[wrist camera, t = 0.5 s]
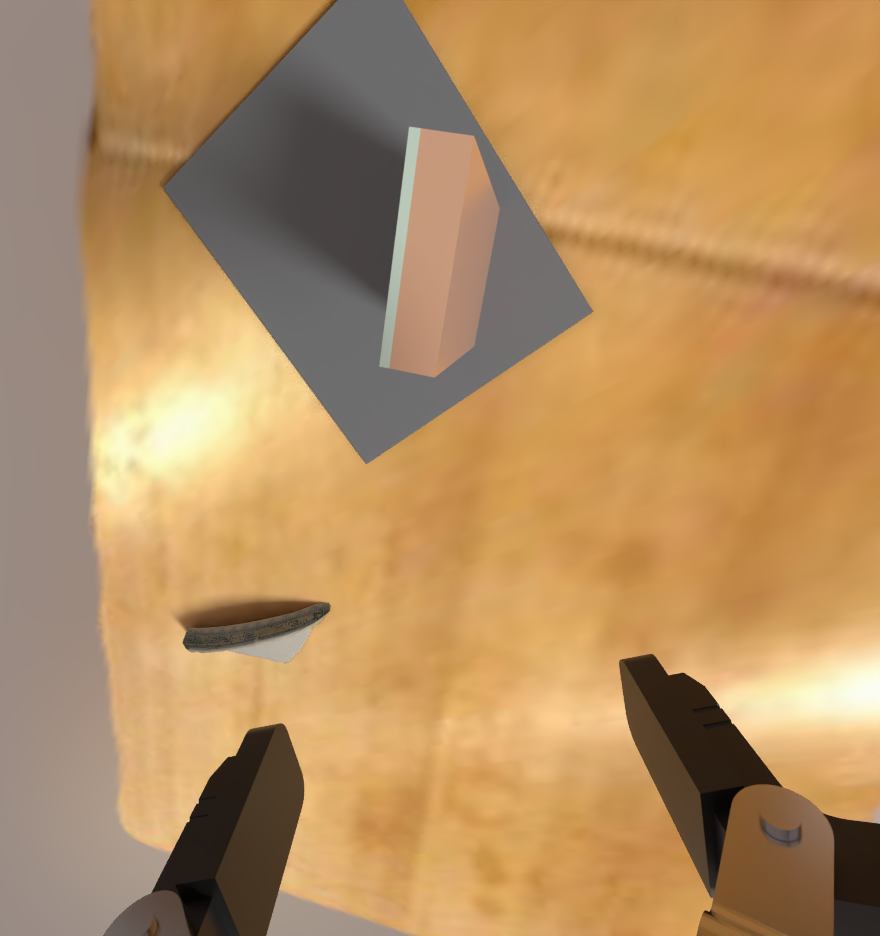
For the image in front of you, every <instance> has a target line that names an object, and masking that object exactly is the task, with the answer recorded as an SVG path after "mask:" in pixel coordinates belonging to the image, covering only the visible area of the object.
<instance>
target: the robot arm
mask: <svg viewBox="0 0 880 936" xmlns="http://www.w3.org/2000/svg"><path fill="white" fill-rule="evenodd" d="M619 667H620V674H621V681H622V688H623V695H624V702H625V709H626V716H627V720H628V724H629V728H630V731H631V734H632V737H633V740H634V742H635V744H636V746H637V749H638V751H639V753H640V755H641V757H642V759H643V761H644V763H645V765H646V767H647V769H648V771H649V773H650V775H651V777H652V779H653V781H654V783H655V785H656V787H657V789H658V791H659V793H660V795H661V797H662V799H663V801H664V803H665V806H666V808H667V810H668V812H669V814H670V816H671V818H672V820H673V822H674V824H675V826H676V828H677V830H678V832H679V834H680V836H681V838H682V840H683V842H684V844H685V846H686V848H687V850H688V852H689V854H690V856H691V858H692V860H693V862H694V865H695V867H696V869H697V871H698V873H699V875H700V877H701V879H702V881H703V883H704V885H705V887H706V889H707V891H708V893H709V895H710V897H711V898H713V897H714V898H713V903H712V907H711V910H710V912H708V911H704V912H703V914H702V917H701V920H700V923H699V927H698V932H697V936H880V824H878V823H870V822H861V821H853V820H846V819H841V818H836V817H833V816H829V815H826V814H824V813H822V812H821V811H820V810H819V809H818V808H817V807H816V806H815V805H814V804H813V803H811V802H810V801H809V800H807V799H806V798H804V797H803V796H801V795H799V794H797V793H795V792H793V791H791V790H789V789H786V788H783V787H782V786H781V784H780V783H779V782H778V781H777V779H776V778H775V777H774V776H773V774H772V773H771V772H770V770H769V769H768V768H767V766H766V765H765V764H764V763H763V761H762V760H761V759H760V757H759V756H758V755H757V754H756V752H755V751H754V750H753V748H752V747H751V746H750V744H749V743H748V742H747V741H746V739H745V738H744V737H743V735H742V734H741V733H740V731H739V730H738V729H737V728H736V726H735V725H734V724H732V723H731V720H730V718H729V717H728V716H727V715H726V713H725V712H724V711H723V709H722V708H721V709H720V707H719V704H718V703H717V702H716V700H715V699H714V698H713V696H712V695H711V694H710V692H709V691H708V690H707V689H706V687H705V686H703V685H702V684H700V683H699V682H697V681H696V680H694V679H693V678H691V677H690V676H688V675H686V674H685V673H679V674H674V675H668V674H667V673H666V671H665V670H664V668H663V667H662V666H661V664H660V663H659V661H658V660H657V658H656V657H655V656H654V655H653V654H648V655H643V656H637V657H632V658H627V659H622V660H620V662H619ZM303 800H304V780H303V775H302V771H301V769H300V766H299V763H298V760H297V757H296V754H295V751H294V748H293V746H292V743H291V740H290V737H289V734H288V731H287V729H286V727H285V726H284V724H281V723H280V724H275V725H270V726H264V727H259V728H254V729H250V730H249V731H248V732H247V734H246V735H245V737H244V740H243V742H242V744H241V746H240V748H239V750H238V752H237V754H236V756H232V757H228V758H227V759H226V760H225V761H224V762H223V763H222V765H221V766H220V767H219V768H218V769H217V770H216V771H215V772H214V774H213V775H212V776H211V777H210V778H209V780H208V782H207V784H206V786H205V788H204V790H203V792H202V794H201V796H200V798H199V804H196V806H195V808H194V810H193V812H192V814H191V816H190V821H189V822H187V824H186V826H185V828H184V830H183V832H182V834H181V836H180V838H179V840H178V841H177V843H176V845H175V847H174V849H173V851H172V853H171V855H170V858H169V859H168V861H167V863H166V865H165V867H164V869H163V871H162V873H161V875H160V877H159V879H158V881H157V883H156V885H155V887H154V889H153V891H152V893H151V894H148V895H146V896H144V897H142V898H141V899H139V900H137V901H136V902H135V903H133V904H132V905H131V906H129V907H128V908H127V909H126V910H124V911H123V912H122V913H121V914H120V915H119V916H118V917H117V918H116V919H115V921H114V922H113V923H112V924H111V925H110V927H109V928H108V929H107V931H106V932H105V934H104V935H103V936H266V934H267V930H268V927H269V923H270V920H271V916H272V913H273V909H274V905H275V901H276V898H277V895H278V891H279V888H280V884H281V880H282V877H283V873H284V870H285V866H286V863H287V859H288V855H289V852H290V848H291V845H292V841H293V838H294V834H295V830H296V827H297V823H298V820H299V816H300V813H301V809H302V805H303Z"/></svg>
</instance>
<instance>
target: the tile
mask: <svg viewBox="0 0 880 936" xmlns="http://www.w3.org/2000/svg"><path fill="white" fill-rule="evenodd" d="M499 210H500V207H499V205H498V202H497V199H496V196H495V193H494V191H493V188H492V185H491V182H490V179H489V176H488V174H487V171H486V168H485V165H484V162H483V159H482V157H481V154H480V151H479V148H478V145H477V143H476V140H475V137H474V136H471V135H464V134H457V133H450V132H443V131H437V130H430V129H423V128H416V127H409V132H408V140H407V148H406V156H405V164H404V172H403V180H402V188H401V196H400V204H399V212H398V220H397V228H396V236H395V244H394V252H393V260H392V268H391V276H390V284H389V292H388V300H387V308H386V316H385V324H384V332H383V340H382V348H381V356H380V364H379V367H384V368H389V369H394V370H399V371H404V372H409V373H414V374H419V375H424V376H430V377H436V376H437V375H439V374H440V373H441V372H442V371H444V370H445V369H446V368H447V367H449V366H450V365H451V364H453V363H454V362H455V361H456V360H458V359H459V358H460V357H461V356H463V355H464V354H465V353H467V352H468V351H469V350H470V349H472V348H473V347H474V345H475V340H476V334H477V329H478V323H479V318H480V313H481V307H482V302H483V297H484V291H485V286H486V280H487V275H488V270H489V264H490V259H491V253H492V248H493V243H494V237H495V232H496V227H497V221H498V216H499Z"/></svg>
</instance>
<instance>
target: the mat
mask: <svg viewBox="0 0 880 936" xmlns="http://www.w3.org/2000/svg"><path fill="white" fill-rule="evenodd" d="M409 127H416V128H423V129H430V130H437V131H443V132H450V133H457V134H464V135H471V136H474V137H475V140H476V143H477V145H478V148H479V151H480V154H481V157H482V159H483V162H484V165H485V168H486V171H487V174H488V176H489V179H490V182H491V185H492V188H493V191H494V193H495V196H496V199H497V202H498V205H499V207H500V210H499V216H498V221H497V227H496V232H495V237H494V243H493V248H492V253H491V259H490V264H489V270H488V275H487V280H486V286H485V291H484V297H483V302H482V307H481V313H480V318H479V323H478V329H477V334H476V340H475V345H474V347H473V348H472V349H470V350H469V351H468V352H467V353H465V354H464V355H463V356H461V357H460V358H459V359H458V360H456V361H455V362H454V363H453V364H451V365H450V366H449V367H447V368H446V369H445V370H444V371H442V372H441V373H440V374H439V375H437V376H436V377H430V376H424V375H419V374H414V373H409V372H404V371H399V370H394V369H389V368H384V367H379V364H380V356H381V348H382V340H383V332H384V324H385V316H386V308H387V300H388V292H389V284H390V276H391V268H392V260H393V252H394V244H395V236H396V228H397V220H398V212H399V204H400V196H401V188H402V180H403V172H404V164H405V156H406V148H407V140H408V132H409ZM163 189H164V190H165V192H166V193H167V194H168V196H169V197H170V199H171V200H172V201H173V203H174V204H175V205H176V207H177V208H178V209H179V211H180V212H181V213H182V215H183V216H184V218H185V219H186V220H187V222H188V223H189V224H190V226H191V227H192V228H193V230H194V231H195V232H196V234H197V235H198V237H199V238H200V239H201V241H202V242H203V243H204V245H205V246H206V247H207V249H208V250H209V251H210V253H211V254H212V256H213V257H214V258H215V260H216V261H217V262H218V264H219V265H220V266H221V268H222V269H223V270H224V272H225V273H226V275H227V276H228V277H229V279H230V280H231V281H232V283H233V284H234V285H235V287H236V288H237V289H238V291H239V292H240V294H241V295H242V296H243V298H244V299H245V300H246V302H247V303H248V304H249V306H250V307H251V308H252V310H253V311H254V313H255V314H256V315H257V317H258V318H259V319H260V321H261V322H262V323H263V325H264V326H265V327H266V329H267V330H268V332H269V333H270V334H271V336H272V337H273V338H274V340H275V341H276V342H277V344H278V345H279V346H280V348H281V349H282V351H283V352H284V353H285V355H286V356H287V357H288V359H289V360H290V361H291V363H292V364H293V365H294V367H295V368H296V370H297V371H298V372H299V374H300V375H301V376H302V378H303V379H304V380H305V382H306V383H307V384H308V386H309V387H310V389H311V390H312V391H313V393H314V394H315V395H316V397H317V398H318V399H319V401H320V402H321V403H322V405H323V406H324V408H325V409H326V410H327V412H328V413H329V414H330V416H331V417H332V418H333V420H334V421H335V423H336V424H337V425H338V427H339V428H340V429H341V431H342V432H343V433H344V435H345V436H346V437H347V439H348V440H349V442H350V443H351V444H352V446H353V447H354V448H355V450H356V451H357V452H358V454H359V455H360V456H361V458H362V459H363V461H364V462H365V463H366V464H367V463H369V462H370V461H372V460H373V459H375V458H376V457H378V456H379V455H381V454H382V453H384V452H385V451H387V450H388V449H390V448H391V447H393V446H394V445H396V444H397V443H399V442H400V441H402V440H403V439H405V438H406V437H408V436H409V435H411V434H412V433H414V432H415V431H416V430H418V429H419V428H421V427H422V426H424V425H425V424H427V423H428V422H430V421H431V420H433V419H434V418H436V417H437V416H439V415H440V414H442V413H443V412H445V411H446V410H448V409H449V408H451V407H452V406H454V405H455V404H457V403H458V402H460V401H461V400H463V399H464V398H466V397H467V396H469V395H470V394H472V393H473V392H475V391H476V390H478V389H479V388H481V387H482V386H483V385H485V384H486V383H488V382H489V381H491V380H492V379H494V378H495V377H497V376H498V375H500V374H501V373H503V372H504V371H506V370H507V369H509V368H510V367H512V366H513V365H515V364H516V363H518V362H519V361H521V360H522V359H524V358H525V357H527V356H528V355H530V354H531V353H533V352H534V351H536V350H537V349H539V348H540V347H542V346H543V345H545V344H546V343H548V342H549V341H551V340H552V339H553V338H555V337H556V336H558V335H559V334H561V333H562V332H564V331H565V330H567V329H568V328H570V327H571V326H573V325H574V324H576V323H577V322H579V321H580V320H582V319H583V318H585V317H586V316H588V315H589V314H591V313H592V312H593V311H592V309H591V307H590V306H589V304H588V302H587V301H586V299H585V298H584V296H583V294H582V293H581V291H580V289H579V288H578V286H577V284H576V283H575V281H574V280H573V278H572V276H571V275H570V273H569V271H568V270H567V268H566V266H565V265H564V263H563V262H562V260H561V258H560V257H559V255H558V253H557V252H556V250H555V248H554V247H553V245H552V244H551V242H550V240H549V239H548V237H547V235H546V234H545V232H544V230H543V229H542V227H541V226H540V224H539V222H538V221H537V219H536V217H535V216H534V214H533V212H532V211H531V209H530V208H529V206H528V204H527V203H526V201H525V199H524V198H523V196H522V194H521V193H520V191H519V190H518V188H517V186H516V185H515V183H514V181H513V180H512V178H511V176H510V175H509V173H508V172H507V170H506V168H505V167H504V165H503V163H502V162H501V160H500V158H499V157H498V155H497V154H496V152H495V150H494V149H493V147H492V145H491V144H490V142H489V140H488V139H487V137H486V136H485V134H484V132H483V131H482V129H481V127H480V126H479V124H478V122H477V121H476V119H475V118H474V116H473V114H472V113H471V111H470V109H469V108H468V106H467V104H466V103H465V101H464V100H463V98H462V96H461V95H460V93H459V91H458V90H457V88H456V86H455V85H454V83H453V82H452V80H451V78H450V77H449V75H448V73H447V72H446V70H445V68H444V67H443V65H442V64H441V62H440V60H439V59H438V57H437V55H436V54H435V52H434V50H433V49H432V47H431V46H430V44H429V42H428V41H427V39H426V37H425V36H424V34H423V32H422V31H421V29H420V27H419V26H418V24H417V23H416V21H415V19H414V18H413V16H412V14H411V13H410V11H409V9H408V8H407V6H406V5H405V3H404V1H403V0H338V1H337V2H336V3H335V4H334V5H333V6H332V7H331V8H330V9H329V10H328V11H327V12H326V13H325V15H324V16H323V17H322V18H321V19H320V20H319V21H318V22H317V23H316V24H315V25H314V26H313V27H312V28H311V30H310V31H309V32H308V33H307V34H306V35H305V36H304V37H303V38H302V39H301V40H300V41H299V42H298V43H297V45H296V46H295V47H294V48H293V49H292V50H291V51H290V52H289V53H288V54H287V55H286V56H285V57H284V58H283V60H282V61H281V62H280V63H279V64H278V65H277V66H276V67H275V68H274V69H273V70H272V71H271V72H270V73H269V75H268V76H267V77H266V78H265V79H264V80H263V81H262V82H261V83H260V84H259V85H258V86H257V87H256V88H255V90H254V91H253V92H252V93H251V94H250V95H249V96H248V97H247V98H246V99H245V100H244V101H243V102H242V103H241V105H240V106H239V107H238V108H237V109H236V110H235V111H234V112H233V113H232V114H231V115H230V116H229V117H228V119H227V120H226V121H225V122H224V123H223V124H222V125H221V126H220V127H219V128H218V129H217V130H216V131H215V132H214V134H213V135H212V136H211V137H210V138H209V139H208V140H207V141H206V142H205V143H204V144H203V145H202V146H201V147H200V149H199V150H198V151H197V152H196V153H195V154H194V155H193V156H192V157H191V158H190V159H189V160H188V161H187V162H186V164H185V165H184V166H183V167H182V168H181V169H180V170H179V171H178V172H177V173H176V174H175V175H174V176H173V177H172V179H171V180H170V181H169V182H168V183H167V184H166V185H165V186H164V187H163Z"/></svg>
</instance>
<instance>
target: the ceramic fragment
mask: <svg viewBox="0 0 880 936" xmlns="http://www.w3.org/2000/svg"><path fill="white" fill-rule="evenodd" d="M329 611H330V604H329V603H317V604H314V605H311V606H309V607H307V608H304V609H301V610H298V611H296V612H294V613H289V614H284V615H281V616H277V617H272V618H268V619H263V620H258V621H253V622H248V623H242V624H236V625H229V626H220V627H208V628H191V627H190V628H188V629H187V632H186V635H185V637H184V639H183V644H184V646H185V648H186V649H187V650H188V651H190V652H200V653H211V652H222V651H231V652H235V653H240V654H245V655H249V656H254V657H259V658H264V659H269V660H272V661H275V662H281V663H288V662H289V661H290V660H291V659H292V658H293V657H294V656H295V655H296V654H297V652H298V651H299V650H300V649H301V648H302V646H303V645H304V643H305V642H306V640H307V638H308V636H309V634H310V632H311V630H312V628H313V627H314V626H316V625H318V624H319V623H321V622H322V620H323V619H324V618H325V617H326V615H327V614H328V612H329Z"/></svg>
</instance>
